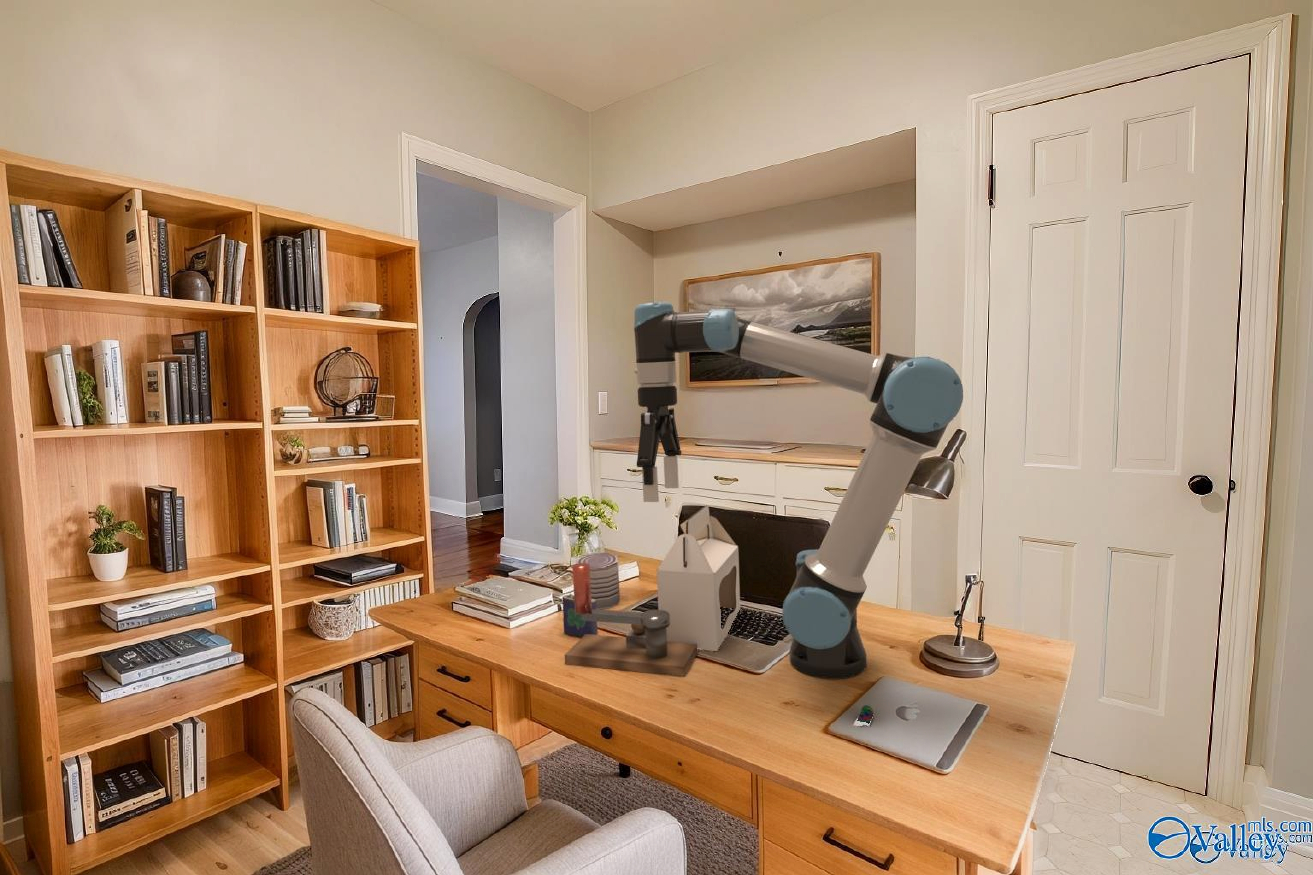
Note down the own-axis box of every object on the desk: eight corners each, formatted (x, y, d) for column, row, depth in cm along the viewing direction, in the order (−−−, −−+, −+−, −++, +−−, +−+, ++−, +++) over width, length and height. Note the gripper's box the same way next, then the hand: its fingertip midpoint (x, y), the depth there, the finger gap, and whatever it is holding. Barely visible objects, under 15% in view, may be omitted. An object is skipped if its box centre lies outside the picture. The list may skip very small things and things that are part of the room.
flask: (600, 636, 152) (597, 591, 150) (593, 641, 149) (590, 595, 148) (568, 630, 156) (565, 586, 155) (560, 634, 154) (557, 590, 152)
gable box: (689, 610, 166) (685, 501, 163) (740, 615, 161) (737, 503, 158) (659, 646, 145) (653, 522, 142) (717, 652, 140) (712, 525, 137)
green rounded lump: (856, 715, 114) (856, 702, 114) (873, 719, 112) (873, 706, 112) (851, 727, 110) (850, 714, 110) (868, 731, 109) (868, 718, 109)
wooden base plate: (697, 652, 140) (696, 616, 140) (684, 676, 130) (682, 637, 129) (586, 642, 148) (584, 607, 148) (565, 663, 138) (562, 626, 137)
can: (629, 600, 175) (627, 556, 173) (599, 613, 166) (597, 567, 165) (598, 592, 182) (596, 550, 180) (568, 604, 173) (566, 560, 172)
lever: (673, 619, 138) (670, 565, 136) (665, 631, 132) (663, 574, 131) (581, 613, 144) (578, 560, 142) (570, 623, 138) (567, 569, 137)
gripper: (657, 383, 138) (662, 482, 141) (615, 388, 115) (621, 507, 117) (692, 382, 136) (696, 483, 138) (655, 387, 113) (661, 508, 115)
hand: (662, 494), depth 128 cm, fingers open, 13 cm apart
